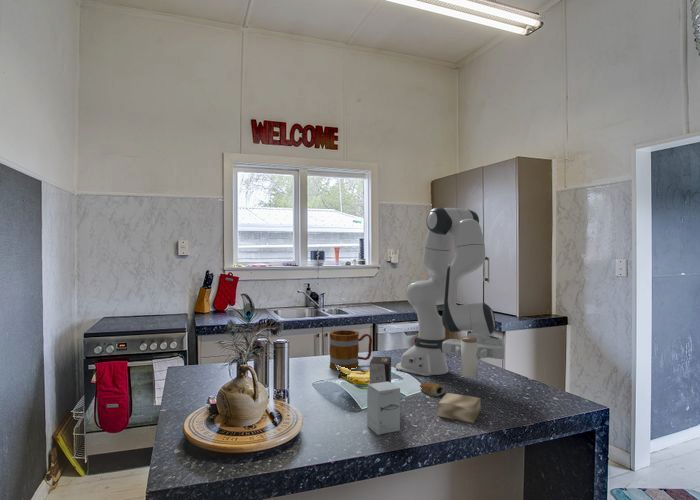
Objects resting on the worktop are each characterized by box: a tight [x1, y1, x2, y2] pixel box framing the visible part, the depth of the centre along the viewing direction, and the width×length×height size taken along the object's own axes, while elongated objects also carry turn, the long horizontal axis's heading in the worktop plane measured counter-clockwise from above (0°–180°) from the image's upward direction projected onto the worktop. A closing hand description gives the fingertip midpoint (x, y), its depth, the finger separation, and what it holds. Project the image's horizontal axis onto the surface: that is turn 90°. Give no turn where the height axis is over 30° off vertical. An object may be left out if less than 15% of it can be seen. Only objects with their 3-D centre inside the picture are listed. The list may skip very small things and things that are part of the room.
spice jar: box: [460, 335, 479, 379], centre depth 138 cm, size 5×5×12 cm
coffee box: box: [369, 356, 392, 384], centre depth 141 cm, size 9×6×16 cm
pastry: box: [419, 382, 446, 397], centre depth 157 cm, size 9×7×4 cm
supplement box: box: [366, 382, 401, 436], centre depth 125 cm, size 7×7×13 cm
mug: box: [329, 329, 373, 371], centre depth 191 cm, size 20×14×15 cm
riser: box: [437, 392, 482, 424], centre depth 137 cm, size 11×11×4 cm
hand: (468, 353), depth 137 cm, fingers closed on spice jar, 5 cm apart
